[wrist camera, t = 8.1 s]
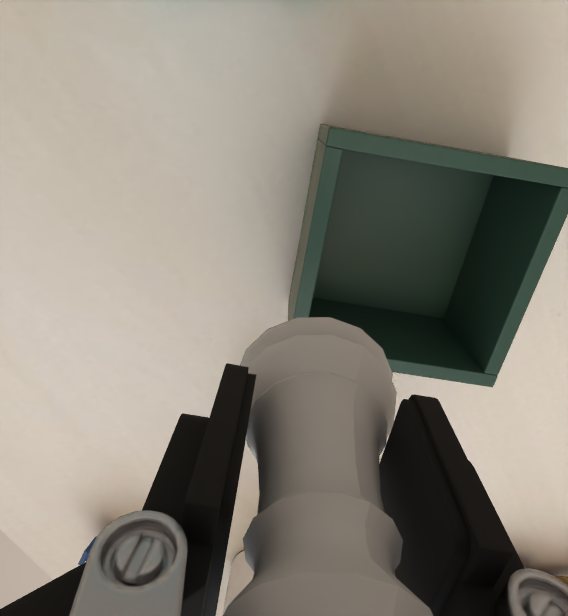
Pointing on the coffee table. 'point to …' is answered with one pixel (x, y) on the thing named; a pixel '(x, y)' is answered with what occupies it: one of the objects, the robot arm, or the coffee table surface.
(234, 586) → the mug
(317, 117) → the coffee table surface
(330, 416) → the rook chess piece
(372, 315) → the bin
